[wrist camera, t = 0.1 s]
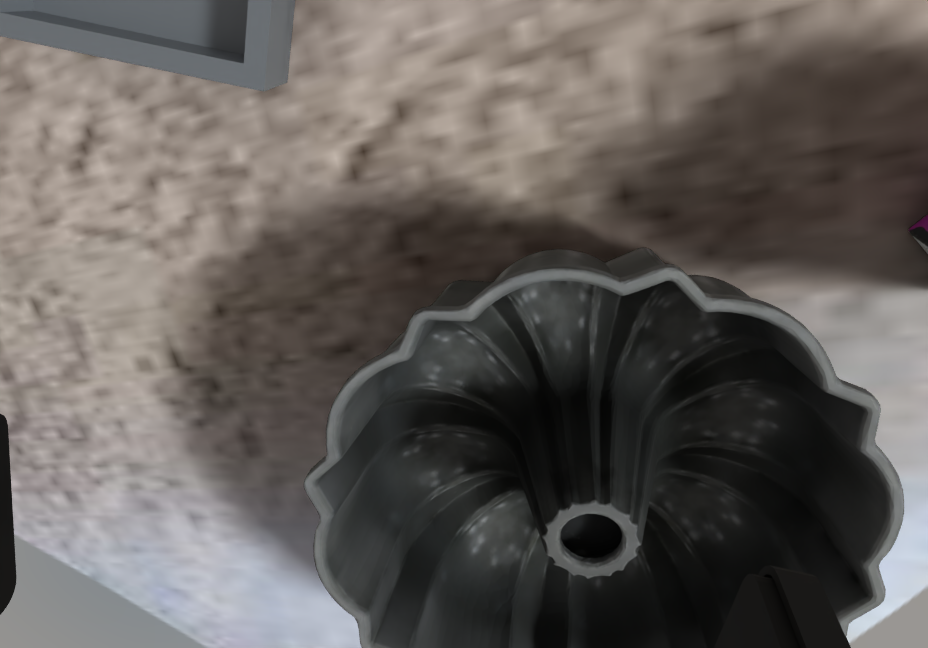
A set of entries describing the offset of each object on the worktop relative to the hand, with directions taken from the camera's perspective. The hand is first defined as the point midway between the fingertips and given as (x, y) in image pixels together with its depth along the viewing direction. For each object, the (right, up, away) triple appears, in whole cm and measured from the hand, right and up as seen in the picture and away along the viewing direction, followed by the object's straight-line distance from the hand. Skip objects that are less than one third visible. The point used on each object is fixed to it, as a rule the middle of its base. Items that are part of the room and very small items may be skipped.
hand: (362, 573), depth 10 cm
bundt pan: (+8, -3, +35) cm, 36 cm away
